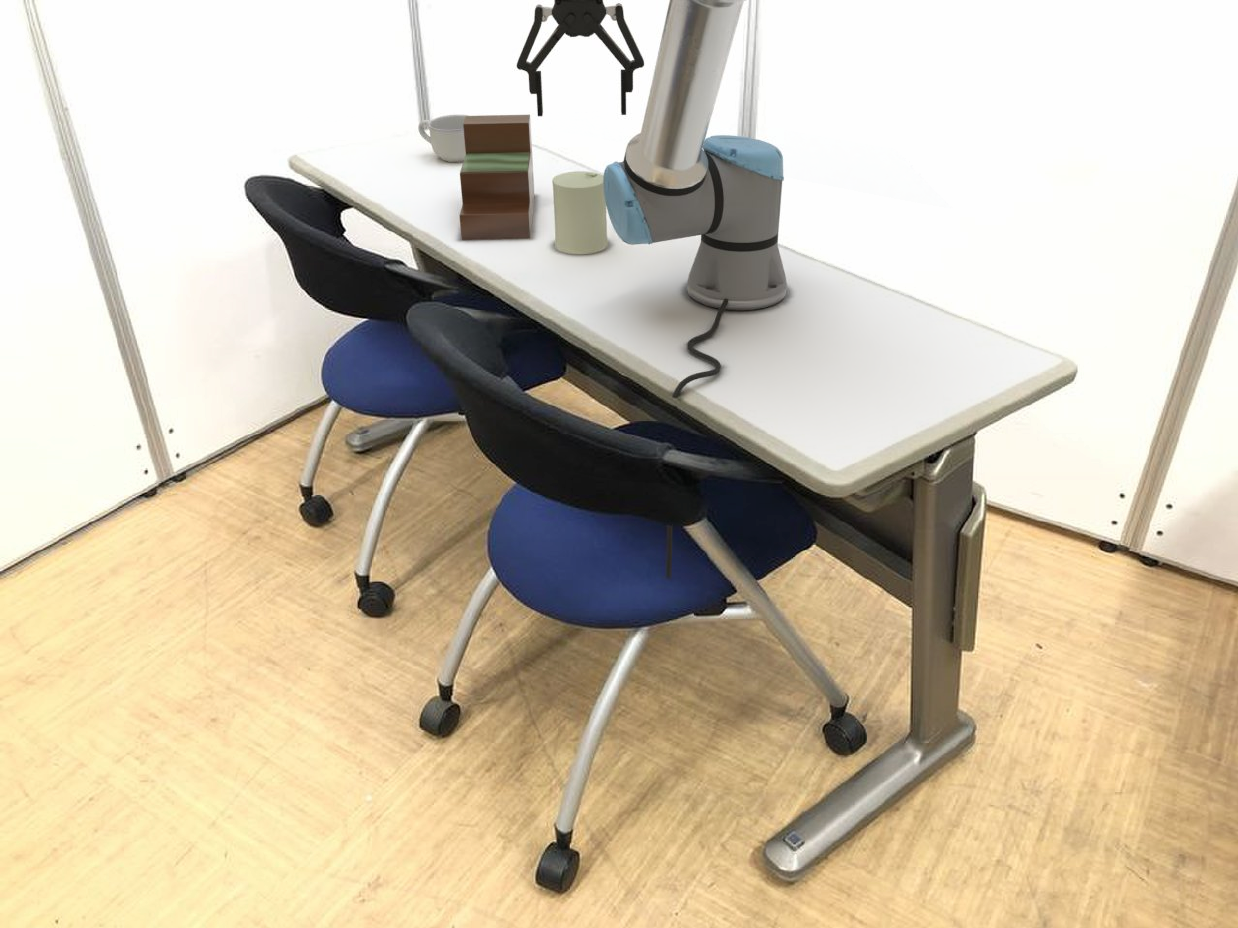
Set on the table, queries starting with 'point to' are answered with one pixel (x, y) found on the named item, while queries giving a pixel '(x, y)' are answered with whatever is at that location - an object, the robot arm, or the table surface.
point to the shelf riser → (497, 178)
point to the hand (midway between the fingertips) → (582, 114)
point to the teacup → (446, 136)
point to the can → (580, 213)
